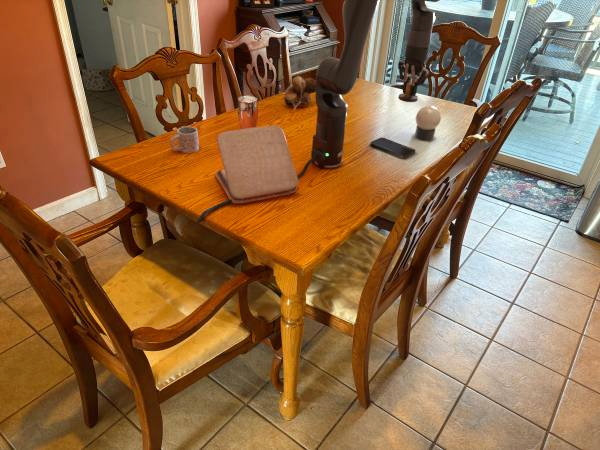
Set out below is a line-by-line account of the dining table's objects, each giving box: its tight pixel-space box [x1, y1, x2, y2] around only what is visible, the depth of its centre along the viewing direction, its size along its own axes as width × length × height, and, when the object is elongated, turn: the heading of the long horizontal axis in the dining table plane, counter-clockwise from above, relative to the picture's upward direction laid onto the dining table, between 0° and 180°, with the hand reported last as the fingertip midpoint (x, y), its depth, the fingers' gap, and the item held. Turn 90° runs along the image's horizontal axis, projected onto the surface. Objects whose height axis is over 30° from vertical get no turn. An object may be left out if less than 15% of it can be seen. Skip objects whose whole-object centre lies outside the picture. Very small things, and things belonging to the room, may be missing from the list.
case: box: [215, 125, 299, 205], centre depth 130 cm, size 20×21×16 cm
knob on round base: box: [398, 81, 419, 103], centre depth 160 cm, size 7×7×6 cm
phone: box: [369, 137, 416, 160], centre depth 160 cm, size 8×1×15 cm
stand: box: [414, 124, 437, 142], centre depth 170 cm, size 7×7×4 cm
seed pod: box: [283, 75, 316, 111], centre depth 191 cm, size 13×16×15 cm
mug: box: [169, 126, 200, 154], centre depth 150 cm, size 10×7×7 cm
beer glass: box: [237, 95, 259, 130], centre depth 157 cm, size 7×7×15 cm
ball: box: [415, 105, 442, 130], centre depth 167 cm, size 9×9×9 cm
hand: (408, 94), depth 160 cm, fingers closed on knob on round base, 3 cm apart
